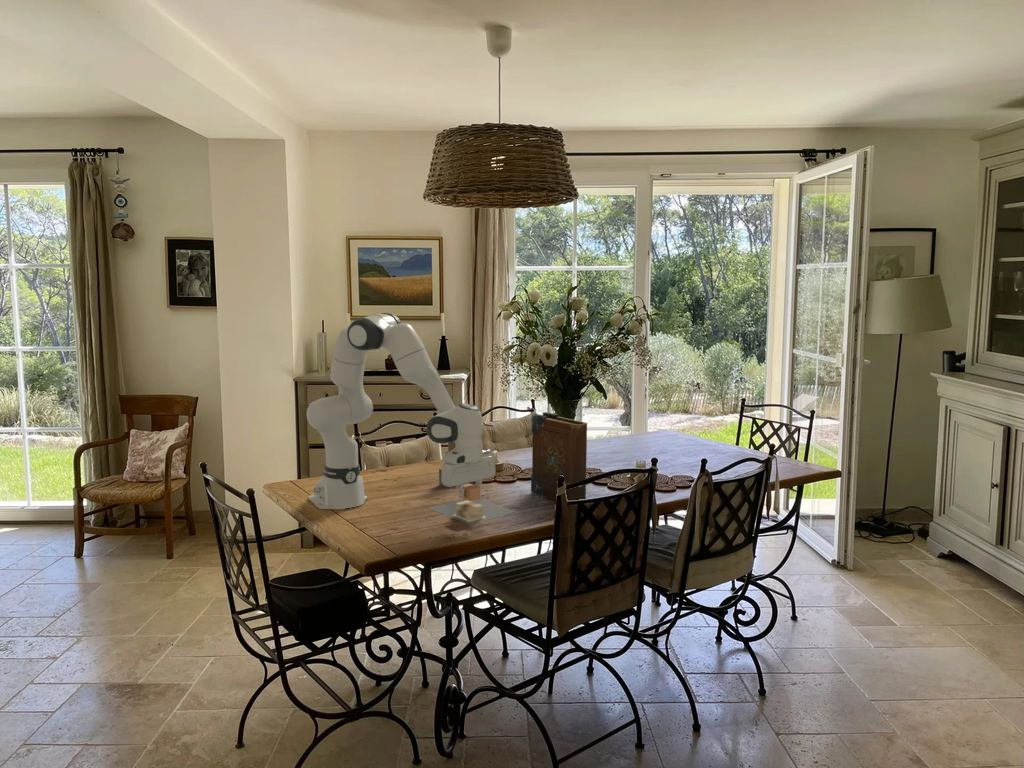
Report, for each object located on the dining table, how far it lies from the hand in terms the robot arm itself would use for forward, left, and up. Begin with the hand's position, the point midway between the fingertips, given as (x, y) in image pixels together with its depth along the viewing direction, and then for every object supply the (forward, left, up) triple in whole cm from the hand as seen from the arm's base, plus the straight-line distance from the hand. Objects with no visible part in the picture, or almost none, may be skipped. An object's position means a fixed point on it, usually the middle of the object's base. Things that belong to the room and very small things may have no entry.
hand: (469, 494), depth 245 cm
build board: (-5, +5, -9) cm, 11 cm away
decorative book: (+2, +40, -9) cm, 41 cm away
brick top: (0, 0, -1) cm, 1 cm away
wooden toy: (-37, +25, -9) cm, 46 cm away
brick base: (0, 0, -7) cm, 7 cm away
